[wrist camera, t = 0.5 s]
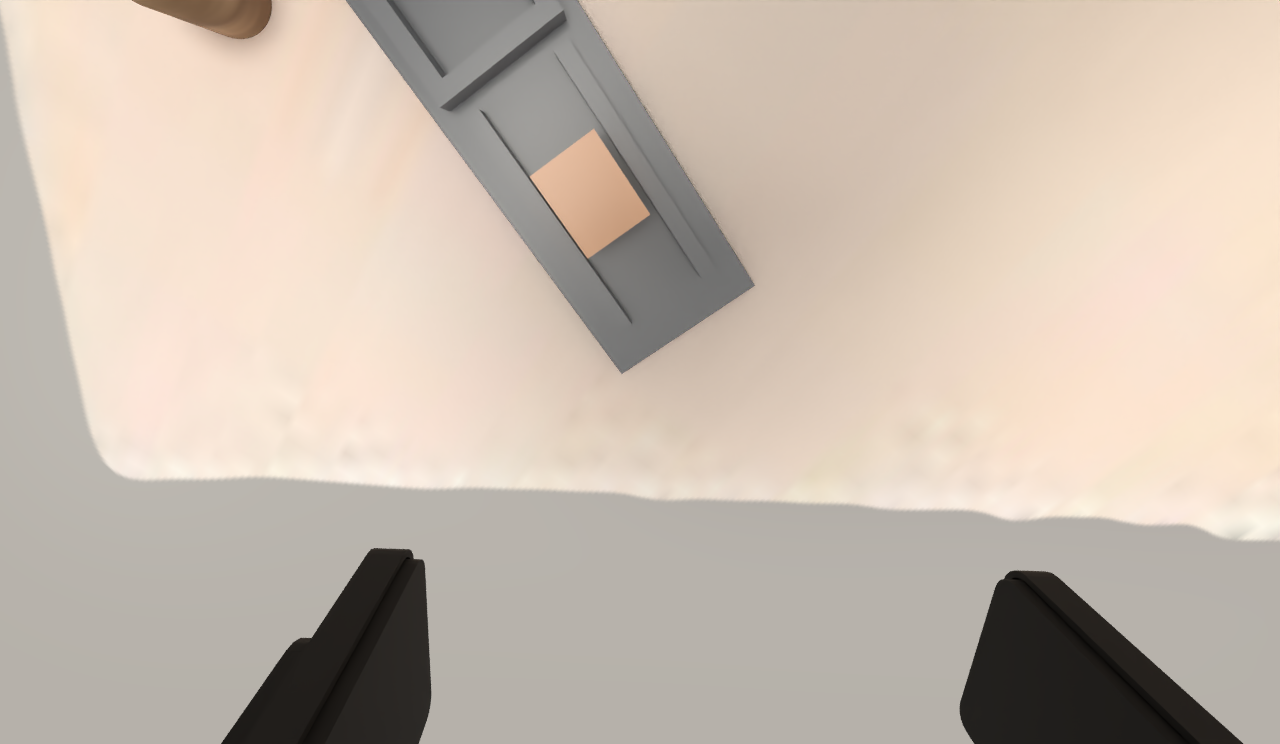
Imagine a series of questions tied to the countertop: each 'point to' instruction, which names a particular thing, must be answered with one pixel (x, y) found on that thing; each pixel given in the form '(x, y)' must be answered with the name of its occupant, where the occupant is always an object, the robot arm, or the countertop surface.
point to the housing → (542, 129)
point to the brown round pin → (218, 14)
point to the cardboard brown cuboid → (590, 194)
